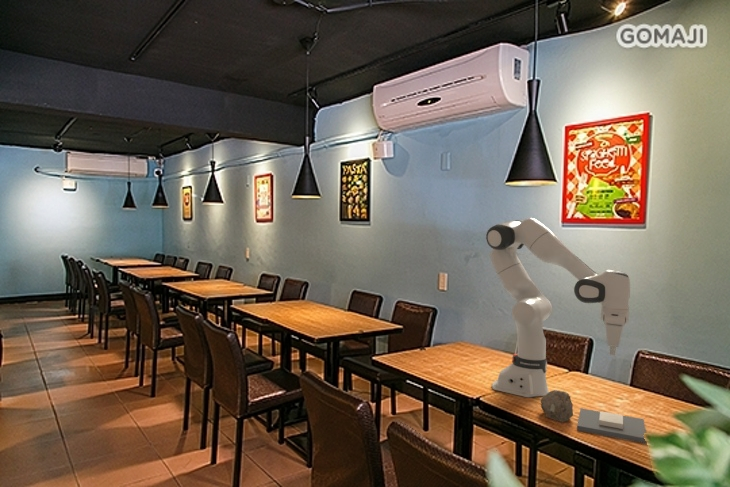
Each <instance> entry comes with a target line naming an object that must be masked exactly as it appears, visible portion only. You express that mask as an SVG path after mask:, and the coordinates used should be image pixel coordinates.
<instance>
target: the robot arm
mask: <svg viewBox="0 0 730 487" xmlns="http://www.w3.org/2000/svg"><path fill="white" fill-rule="evenodd" d="M485 235H486V236H485V240H486V242H487V245H488V246H489V247H490V248H491V249H492V250H491V251H490V254H489V255H490V256H489V257H490V259H491V260H490V261H491V264H492V266H493V268H494V270H495V273H496V274H497V277H498V279H499V280H500V281H501V284H502V286H503V287H504V289H505V291H506V292H507V293H508V294H509V295H510V296H511V297H512V298H513V299H514V300H515V301H516V303H515V304H514V305H513V307H512V309H511V316H512V319H513V321H514V324H515V328H516V333H517V334H516V336H517V353H514V354H513V355H512V358H511V363H510V365H508V366H506V367H505V368H503V369H502V370H500V372H499V373H498V377H497V379H496V380H494V381H493V383H492V385H491V388H492V389H493V390H495V391H498V392H503V393H507V394H511V395H515V396H518V397H519V396H520V397H525V398H533V397H544V396H545V395H547V393H549V392H550V391H549V388H548V382H547V368H548V360H547V357H546V356H547V355H546V354H547V351H546V350H547V346H546V345H547V339H546V337H545V334H544V328H543V322H545V320H547V319H548V318H549V317H550V315H551V313H552V311H553V306H552V303H551V302H550V300H549V299H548V298H547V297H546V296H545V295H544V294H543V293H542V292H541V290H540V289H539V288H538V287H537V285H536V284H535V283H534V281H533V280H532V279H531V277H530V275H529V274H528V271H527V270H526V269H525V267H524V265H523V264H522V262H521V260H520V258H519V257H518V254H517V251H518V250H521V249H522V248H523V246H525V247H526V248H527V249H528V250H529V251H530V252H531V254H532V255H534V256H535V257H536V258H538V259H539V260H540V261H542V262H544V263H547V264H552V265H556V266H559V267H561V268H563V269H565V270H566V271H568V272H569V274H571V275H572V276H573V277H574V278H576V280H577V282H576V283H575V285H574V287H573V292H574V293H573V294H574V295H575V297H576V299H577V300H578V301H580V302H581V303H585V304H589V305H590V304H596V303H597V304H598V303H600V304H601V307H600V308H601V310H600V320H601V321H602V322H603V323H604V325H605V334H606V344H607V346H608V347H609V355H612V356H615V355H616V349H617V348H618V347H619V346H620V343H621V338H622V335H623V334H622V333H623V329H624V327H625V325H626V324H627V323H629V315H630V306H629V300H630V297H631V282H630V280H631V279H630V277H629V275H628V274H627V273H626V272H623V271H620V270H616V269H606V270H604V271H603V272H601V273H597V272H596V271H594V270H593V269H592V268H591V267H589V266H588V265H587V264H586V263H585V262H583V260H582V259H580V258H579V257H578V256H576V254H575V253H573V252H572V251H571V250H570V249H569V247H568V246H566V245H565V244H564V242H562V241H561V240H560V239H559V237H557V235H556V234H555V233H554V232H552V230H550V229H549V228H548V227H547V226H545V225H544V224H543V223H542V222H540V221H539V220H537V219H536V218H532V217H529V218H525V219H523V220H518V219H517V220H516V219H515V220H509V221H504V222H502V223H500V224H495V225H492V226H491V227H490V228H489V229H487V231H486V234H485Z"/></svg>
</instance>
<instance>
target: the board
mask: <svg viewBox="0 0 730 487" xmlns="http://www.w3.org/2000/svg"><path fill="white" fill-rule="evenodd" d="M599 418H600V411H599V410H593V409H586V408H580V410H579V415H578V418H577V424H576V431H578V432H585V433H589V434H593V435H598V436H599V435H600V436H605V437H609V438H616V439H620V440H626V441H631V442H637V443H642V444H647V441H645V439H644V436H643V435H644V433H646V434H647V432H646V426H645V419H644V418H640V417H634V416H627V415H623V429H620V428H614V427H609V426H603V425H599Z"/></svg>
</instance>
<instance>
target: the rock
mask: <svg viewBox="0 0 730 487" xmlns="http://www.w3.org/2000/svg"><path fill="white" fill-rule="evenodd" d="M573 406H574V404H573V402H572V399H571V396H570V394H569V393H568V392H566V391H562V390H559V389H558V390H557V389H555V390H550V391H549V393H547V395H544V396H541V399H540V407H541V410H542V412H543V413H544V414H545V417H546V418H549V419H552V420H553V421H555V422H560V423H565V422H567V421H568V420H570V418H572V417H573V416H574V410H573V408H574V407H573Z"/></svg>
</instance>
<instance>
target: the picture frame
mask: <svg viewBox="0 0 730 487" xmlns="http://www.w3.org/2000/svg"><path fill="white" fill-rule="evenodd" d="M599 412H600V418H599V425H603V426H609V427H614V428H620V429H623V416H624V415H623V414H619V413H613V412H606V411H599Z"/></svg>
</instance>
